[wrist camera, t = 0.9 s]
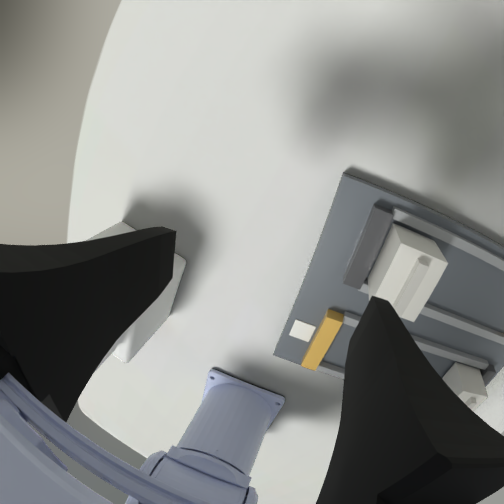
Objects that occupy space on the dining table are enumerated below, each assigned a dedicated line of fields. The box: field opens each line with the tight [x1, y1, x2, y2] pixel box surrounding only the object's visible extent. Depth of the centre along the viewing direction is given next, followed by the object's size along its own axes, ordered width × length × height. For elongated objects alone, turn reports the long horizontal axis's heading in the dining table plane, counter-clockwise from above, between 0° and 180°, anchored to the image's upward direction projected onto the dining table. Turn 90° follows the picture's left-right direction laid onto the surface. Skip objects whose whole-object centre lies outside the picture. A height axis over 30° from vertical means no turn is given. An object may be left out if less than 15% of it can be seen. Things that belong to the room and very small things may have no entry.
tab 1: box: [368, 223, 448, 322], centre depth 16 cm, size 4×3×4 cm
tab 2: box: [442, 362, 488, 411], centre depth 18 cm, size 4×3×4 cm
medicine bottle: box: [86, 222, 186, 372], centre depth 21 cm, size 7×7×12 cm
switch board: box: [273, 173, 504, 387], centre depth 19 cm, size 15×20×2 cm
